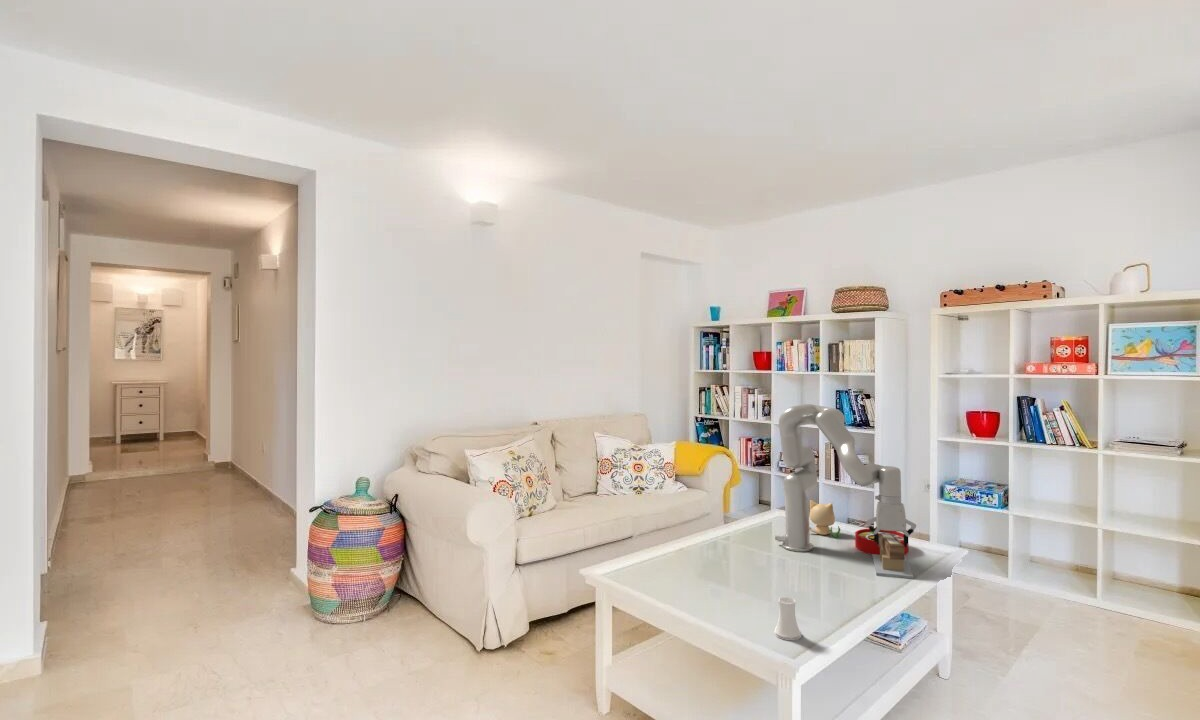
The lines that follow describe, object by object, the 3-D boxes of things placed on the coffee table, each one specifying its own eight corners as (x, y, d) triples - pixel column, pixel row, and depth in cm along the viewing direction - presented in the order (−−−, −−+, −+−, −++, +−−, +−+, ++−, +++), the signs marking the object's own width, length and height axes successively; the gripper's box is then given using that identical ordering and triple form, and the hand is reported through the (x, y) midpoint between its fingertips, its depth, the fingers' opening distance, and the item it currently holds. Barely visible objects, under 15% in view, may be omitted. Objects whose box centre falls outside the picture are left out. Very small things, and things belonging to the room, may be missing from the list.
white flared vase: (799, 642, 172) (798, 607, 172) (772, 637, 176) (771, 603, 176) (802, 631, 179) (802, 597, 179) (776, 627, 182) (775, 593, 182)
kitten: (844, 534, 274) (843, 501, 274) (835, 539, 267) (834, 505, 267) (812, 528, 284) (811, 496, 284) (802, 533, 277) (802, 500, 277)
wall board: (876, 575, 223) (876, 560, 223) (872, 556, 244) (872, 542, 244) (913, 578, 219) (912, 563, 219) (905, 559, 239) (905, 545, 239)
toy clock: (847, 528, 263) (893, 528, 263) (847, 542, 263) (894, 541, 263) (867, 542, 243) (917, 541, 243) (867, 557, 243) (918, 556, 243)
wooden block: (904, 559, 223) (904, 545, 223) (890, 559, 224) (889, 545, 224) (891, 546, 239) (891, 533, 239) (878, 546, 239) (877, 532, 239)
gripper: (865, 500, 231) (866, 545, 231) (917, 503, 225) (918, 549, 225) (864, 496, 238) (865, 540, 238) (914, 498, 232) (915, 544, 232)
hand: (891, 544), depth 231 cm, fingers open, 9 cm apart
